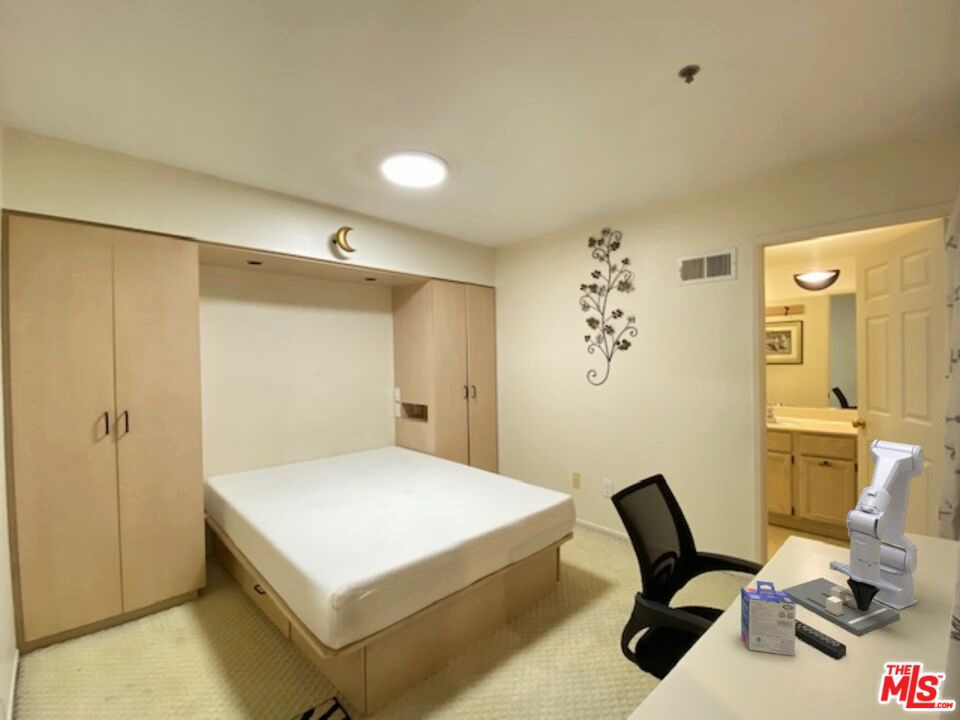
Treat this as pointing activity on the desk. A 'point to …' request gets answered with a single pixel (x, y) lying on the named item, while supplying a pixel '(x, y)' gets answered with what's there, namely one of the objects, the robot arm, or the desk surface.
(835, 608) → the block
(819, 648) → the multiport hub
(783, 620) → the ink cartridge box
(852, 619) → the panel
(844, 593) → the block
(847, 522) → the robot arm
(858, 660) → the desk surface
